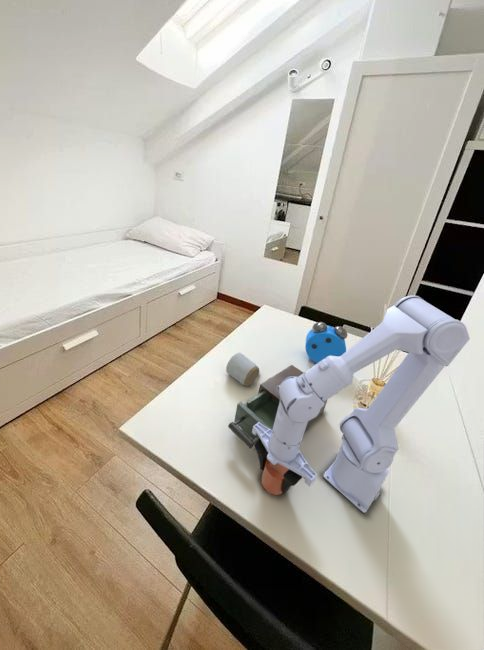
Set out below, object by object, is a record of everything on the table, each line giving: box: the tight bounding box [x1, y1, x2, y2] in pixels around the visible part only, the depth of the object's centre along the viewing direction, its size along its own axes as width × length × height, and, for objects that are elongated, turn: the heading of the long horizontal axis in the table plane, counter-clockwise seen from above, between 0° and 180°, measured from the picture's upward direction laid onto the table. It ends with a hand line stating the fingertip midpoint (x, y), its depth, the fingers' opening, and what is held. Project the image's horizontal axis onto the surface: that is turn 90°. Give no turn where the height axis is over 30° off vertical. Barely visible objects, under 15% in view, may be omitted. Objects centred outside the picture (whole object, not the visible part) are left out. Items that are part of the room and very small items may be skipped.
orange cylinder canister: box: [260, 459, 289, 496], centre depth 62 cm, size 5×5×5 cm
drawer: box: [228, 391, 279, 450], centre depth 73 cm, size 19×12×6 cm, turn 131°
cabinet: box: [257, 364, 329, 429], centre depth 81 cm, size 15×13×8 cm
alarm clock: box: [305, 321, 348, 364], centre depth 102 cm, size 13×6×15 cm, turn 71°
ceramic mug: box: [225, 352, 260, 387], centre depth 92 cm, size 11×8×8 cm
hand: (274, 477), depth 62 cm, fingers closed on orange cylinder canister, 5 cm apart
